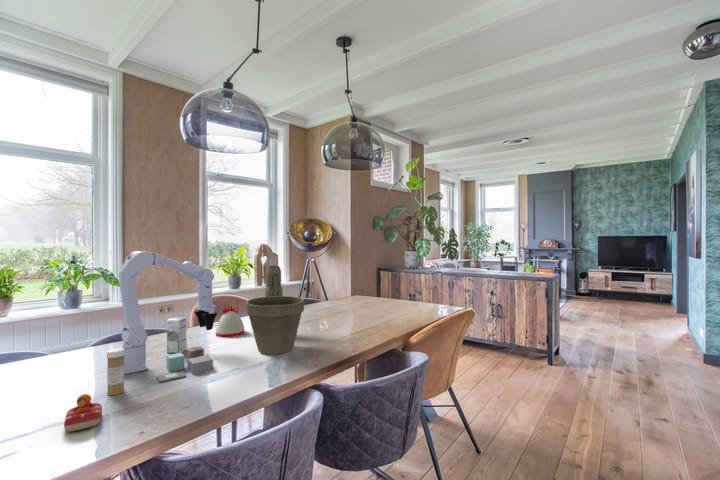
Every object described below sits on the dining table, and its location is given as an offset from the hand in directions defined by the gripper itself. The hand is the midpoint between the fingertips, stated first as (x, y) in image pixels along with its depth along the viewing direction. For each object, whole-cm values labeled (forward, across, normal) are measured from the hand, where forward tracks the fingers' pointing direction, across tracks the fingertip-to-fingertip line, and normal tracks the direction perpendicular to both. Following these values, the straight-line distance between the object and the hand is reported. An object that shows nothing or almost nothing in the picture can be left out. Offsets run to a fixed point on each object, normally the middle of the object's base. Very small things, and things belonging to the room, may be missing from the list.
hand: (206, 328), depth 151 cm
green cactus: (+11, +4, -35) cm, 37 cm away
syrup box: (+10, +10, +9) cm, 17 cm away
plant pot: (+11, -19, -23) cm, 31 cm away
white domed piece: (+11, +24, -21) cm, 33 cm away
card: (+10, -21, +20) cm, 30 cm away
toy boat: (+10, -39, +46) cm, 61 cm away
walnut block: (+10, -9, +8) cm, 15 cm away
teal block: (+10, -12, +16) cm, 22 cm away
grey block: (+10, -20, +10) cm, 24 cm away
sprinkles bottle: (+10, -22, +36) cm, 43 cm away
